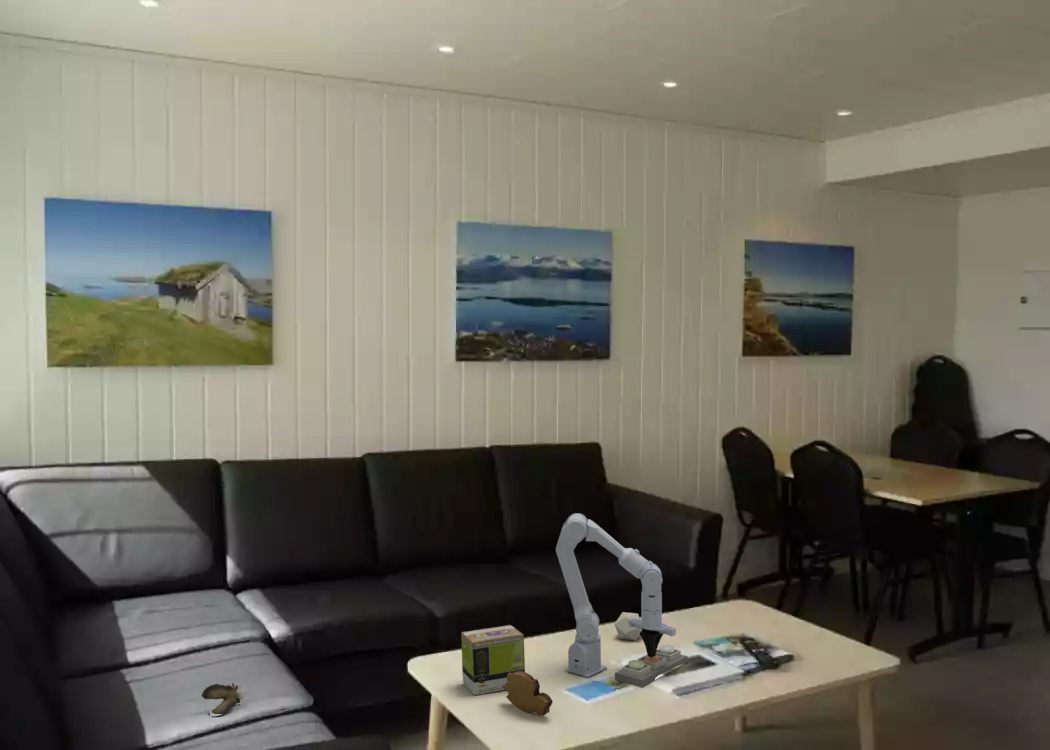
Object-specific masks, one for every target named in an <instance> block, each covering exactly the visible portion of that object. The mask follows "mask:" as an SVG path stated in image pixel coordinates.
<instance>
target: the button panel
mask: <svg viewBox="0 0 1050 750" xmlns="http://www.w3.org/2000/svg"><path fill="white" fill-rule="evenodd" d="M674 652H675V653H673V654H671V655H667V654H663V653H659V648H657V651H656V656H658V657H659V658H660V660H659V661H658V662H656V663H653V662H649V661H645V660H644V657H645V656H648V655H647V654H645V655H643V656H641V657H639V658H637V660H640V661H643V662H644V669H642V670H640V671H637V670H633V669H629V668H628V663H627V664H626V665H623V666H621V669H619V670H617V671H615V672H614V681H619V682H622V683H624V684H629V685H632V686H637V687H640V688H644V687H645V686H648V685H649V684H651V683H653V682H655V681H656V680H655V678H656V677H657V676H658V675H660V674H662V673H664V672H666V671H668V670H670V669H672V668H674V667H676V666H678V665H680V664H682V663H684V662H686V661H688V655H685V654H681V653H682V650H681V649H676V648H674ZM654 680H655V681H654Z"/></svg>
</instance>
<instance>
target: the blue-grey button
mask: <svg viewBox="0 0 1050 750" xmlns="http://www.w3.org/2000/svg"><path fill="white" fill-rule="evenodd" d="M658 649H659V653H663V654H667V655H671V654H673V653H675V652H674V649H675V647H674V646H673V645H669V644H664V645H660V646H658Z"/></svg>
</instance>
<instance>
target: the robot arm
mask: <svg viewBox="0 0 1050 750" xmlns="http://www.w3.org/2000/svg"><path fill="white" fill-rule="evenodd" d="M562 525H563V526H562V528H561V531H560V534H559V536H558V537H559V538H558V540H557V543H556V547H555V553H556V556H557V558H558V562H559V567H560V568H561V572H562V574H563V578H564V582H565V585H566V588H567V591H568V595H569V599H570V601H571V604H572V607H573V612H574V618H575V621H576V626H575V637H574V638H575V639H574V642H573V643H571V644H570V646H569V648H568V652H567V653H568V654H567V656H568V659H567V662H568V668H566V669H565V671H566V672H568V673H571V674H576V675H579V676H582V677H586V678H590V677H592V676H594V675H596V674H598V673H600V672H602V671H604V670H606V669H607V668H608V666H607V665H603V664H602V659H601V658H602V655H601V654H602V653H601V652H602V650H601V649H602V648H601V647H602V646H601V645H602V644H601V641H602V639H601V637H602V636H601V635H600V634H599V632H600V631H599V625H600V618H599V616H598V614H597V613H596V612H595V611H594V609H593V606H592V604H591V602H590V601H589V596H588V593H587V591H586V588H585V584H584V581H583V578H582V574H581V572H580V568H579V564H578V561H577V558H576V555H575V552H574V550H575V548H576V547H577V545H578V544H579V543H580V542H582V541H583V540H584V539H585V542H597V544H599V545H600V546H601V547H603V548H605V549H606V551H608V552H610V553H611V554H613V555H614V557H617V558H618V563H619V565H620V566H621V567H622V568H624V569H625V570H626V571H627V572H629V573H630V574H631V575H632V576H634V577H635V578H636V579H639V580H640V583H641V586H642V587H641V588H642V589H641V592H640V593H641V599H640V600H641V602H640V603H641V607H640V608H641V613H640V614H641V618H640V620H639V619H630V620H628V627H636V628H641V629H642V631H641V632H640V635H639V636H640V638H641V640H642V641H643V643H644V647H645V650H646V655H648V657H654V656H656V651H657V649H658V648H659V644H660V642H661V639H662V638H663V636H664V635H667V636H669V637H675V636H677V635H676V633H677V632H676V631H677V629H676V627H673V626H670V625H667V624H665V623H662V622H663V621H662V620H663V613H662V611H663V607H662V606H663V602H662V601H663V600H662V599H663V597H662V596H663V592H662V584H663V581H664V580H663V575H662V571H661V569H660V568H659V566H658V565H657V564H656V563H653V561H651V560H648V559H646V558H645V557H644V556H642V555H641V554H640V550H638V549H637V548H635V549H634V548H632V547H628V548H626V547H624V546H623V545H622V544H620V543H619V542H618V541H617V540H615V539H614V537H612V536H611V535H610V534H608V532H606V531H605V530H604V529H603V528H602V527H600V525H598V524H597V523H595V522H594V521H593V520H592V519H588V518H587V517H586V516H585V515H584V514H583V513H579V512H578V513H576V512H575V513H572V514H571V515H569V516H568V518H567V519H566V521H565V522H564V523H563V524H562Z"/></svg>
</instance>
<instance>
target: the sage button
mask: <svg viewBox="0 0 1050 750" xmlns="http://www.w3.org/2000/svg"><path fill="white" fill-rule="evenodd" d="M627 664H628V668H629V669H633V670H637V671H640V670H642V669H644V662H643V661H640V660H638V659H634V660H630V661H628V663H627Z"/></svg>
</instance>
